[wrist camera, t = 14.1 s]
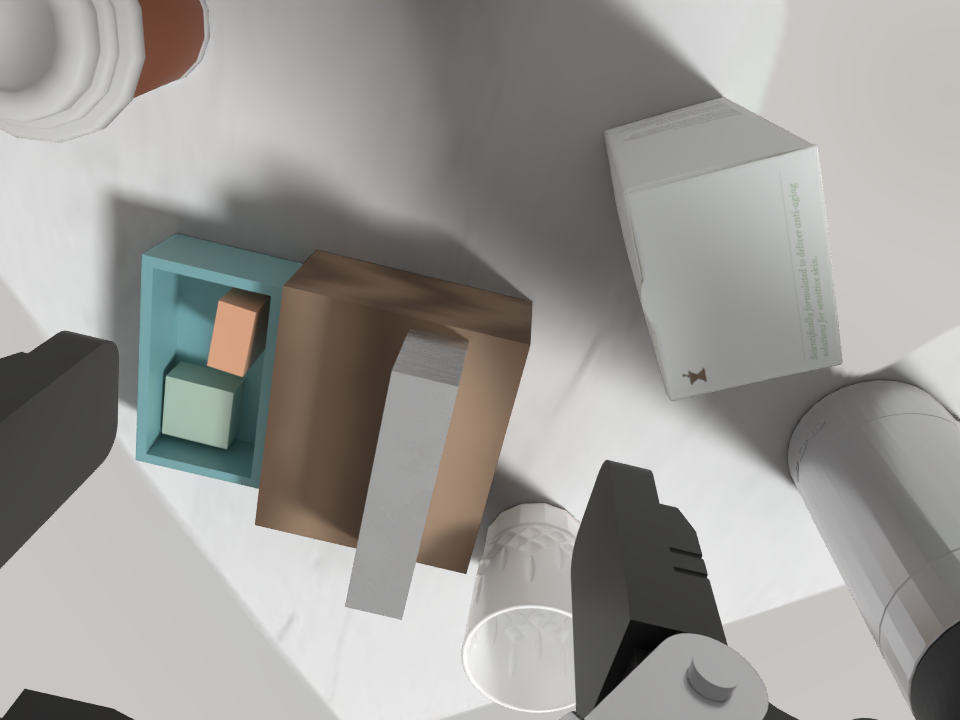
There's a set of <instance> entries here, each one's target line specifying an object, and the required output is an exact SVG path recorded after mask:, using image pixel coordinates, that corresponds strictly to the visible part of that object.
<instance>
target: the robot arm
mask: <svg viewBox="0 0 960 720" xmlns="http://www.w3.org/2000/svg"><path fill="white" fill-rule="evenodd" d="M118 370H119V354H118V349H117V346H116V345H115V343H113V342H111V341H108V340H104V339H99V338H95V337H91V336H87V335H82V334H78V333H74V332H70V331H61V332H59V333H57V334H56V335H54V336H53V337H51V338H50V339H48V340H47V341H46V342H44V343H43V344H41V345H40V346H38V347H37V348H35V349H34V350H33V351H31V352H29V353H24V352H20V353H16V354H13V355H10V356H7V357H4V358H1V359H0V568H1V567H2V566H3V565H4V564H5V563H6V562H7V561H8V560H9V559H10V558H11V557H12V556H13V555H14V554H15V553H16V552H17V551H18V550H19V549H20V548H21V547H22V546H23V545H24V544H25V542H26V541H27V540H28V539H29V538H30V537H31V536H32V535H33V534H34V533H35V532H36V531H37V530H38V529H39V528H40V527H41V526H42V525H43V524H44V523H45V522H46V521H47V520H48V519H49V518H50V517H51V516H52V515H53V514H54V512H55V511H56V510H57V509H58V508H59V507H60V506H61V505H62V504H63V503H64V502H65V501H66V500H67V499H68V498H69V497H70V496H71V495H72V494H73V493H74V492H75V491H76V490H77V489H78V488H79V487H80V486H81V485H82V484H83V482H84V481H85V480H86V479H87V478H88V477H89V476H90V475H91V474H92V473H93V472H94V471H95V470H96V469H97V468H98V467H99V466H100V465H101V464H102V463H103V461H104V460H105V459H106V457H107V456H108V454H109V452H110V450H111V448H112V446H113V443H114V440H115V437H116V432H117V424H118ZM787 460H788V465H789V471H790V474H791V476H792V478H793V480H794V483H795V485H796V487H797V489H798V491H799V493H800V495H801V496H802V498H803V500H804V502H805V504H806V506H807V508H808V510H809V512H810V514H811V517H812V519H813V521H814V523H815V525H816V527H817V529H818V531H819V533H820V535H821V536H822V538H823V540H824V542H825V544H826V546H827V548H828V550H829V552H830V554H831V556H832V558H833V560H834V562H835V564H836V566H837V568H838V570H839V572H840V574H841V576H842V577H843V579H844V581H845V583H846V585H847V587H848V589H849V591H850V593H851V595H852V597H853V599H854V601H855V603H856V605H857V607H858V609H859V611H860V613H861V614H862V617H863V618H864V620H865V622H866V624H867V626H868V628H869V630H870V632H871V634H872V636H873V638H874V640H875V642H876V644H877V646H878V647H879V650H880V652H881V653H882V656H883V658H884V659H885V661H886V663H887V665H888V667H889V669H890V670H891V673H892V675H893V677H894V678H895V680H896V682H897V684H898V686H899V688H900V690H901V692H902V694H903V696H904V698H905V700H906V702H907V704H908V706H909V707H910V710H911V712H912V714H913V715H914V717H915V719H916V720H960V421H956V420H955V418H954V417H953V416H952V415H951V414H950V413H949V412H948V411H947V410H946V409H945V408H944V407H943V406H942V405H941V404H940V403H939V402H938V401H937V400H935V399H934V398H933V397H932V396H931V395H930V394H928V393H927V392H925V391H923V390H921V389H919V388H917V387H915V386H913V385H910V384H906V383H902V382H898V381H887V380H875V381H867V382H860V383H857V384H853V385H850V386H847V387H844V388H841V389H839V390H837V391H835V392H833V393H831V394H829V395H827V396H826V397H825V398H823V399H822V400H820V401H819V402H818V403H816V404H815V405H814V406H813V407H812V408H811V409H810V410H809V411H808V412H807V413H806V414H805V415H804V416H803V417H802V418H801V420H800V422H799V423H798V425H797V426H796V428H795V430H794V431H793V434H792V437H791V440H790V443H789V447H788V458H787ZM707 575H708V574H707V570H706V566H705V563H704V560H703V559H702V552H701V549H700V545H699V541H698V538H697V534H696V531H695V530H694V529H693V527H692V526H691V525H690V523H689V522H688V521H687V520H686V518H685V517H684V516H683V514H682V513H681V512H680V511H679V509H678V508H676V507H672V506H667V505H663V504H659V499H658V495H657V490H656V486H655V481H654V477H653V473H652V471H651V470H648V469H643V468H639V467H635V466H631V465H626V464H622V463H618V462H614V461H610V460H606V461H605V462H604V463H603V464H602V466H601V469H600V471H599V474H598V476H597V479H596V482H595V485H594V488H593V491H592V493H591V496H590V499H589V502H588V505H587V508H586V510H585V513H584V516H583V519H582V522H581V525H580V527H579V530H578V533H577V536H576V540H575V544H574V548H573V554H572V560H571V596H572V621H573V646H574V671H575V696H576V712H575V711H572V712H570V713H568V714H566V715H565V716H563V717H562V718H561V719H560V720H798V719H796V718H794V717H792V716H790V715H789V714H787V713H785V712H783V711H781V710H779V709H777V708H776V707H775V706H773V705H772V704H770V703H769V702H768V694H767V691H766V688H765V685H764V683H763V681H762V679H761V678H760V676H759V674H758V673H757V672H756V670H755V669H754V668H753V667H752V666H751V664H750V663H749V662H748V661H747V660H746V659H745V658H744V657H742V656H741V655H740V654H739V653H737V652H736V651H735V650H733V649H731V648H730V647H728V645H727V642H726V638H725V635H724V631H723V627H722V624H721V620H720V617H719V613H718V609H717V606H716V602H715V599H714V595H713V592H712V588H711V584H710V581H709V579H707ZM0 720H134V719H132V718H130V717H128V716H126V715H124V714H122V713H120V712H118V711H117V710H115V709H112V708H108V707H103V706H99V705H95V704H90V703H85V702H81V701H77V700H72V699H68V698H63V697H59V696H55V695H50V694H46V693H41V692H37V691H33V690H28V689H24V691H23V692H22V693H21V694H20V696H19V697H18V698H17V700H16V701H15V702H14V704H13V705H12V706H11V707H10V709H9V710H8V711H7V713H6V714H5V715H4V717H3V718H0ZM853 720H876V719H871V718H859V719H853Z"/></svg>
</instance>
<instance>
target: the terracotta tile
mask: <svg viewBox="0 0 960 720" xmlns="http://www.w3.org/2000/svg"><path fill="white" fill-rule="evenodd" d="M270 302H271V296H269V295H265V294H260V293H256V292H252V291H248V290H244V289H240V288H235V287H233V288H232V289H231V290H230V291H229V292H228V293H227V294H225V295H224V296H223V297H222V298H221V299H220V300H219V302H218V308H217V313H216V319H215V324H214V330H213V335H212V341H211V346H210V352H209V357H208V363H207V366H210V367H213V368H216V369H219V370H222V371H225V372H228V373H231V374H235V375H238V376H241V377H243V376H244V375H245V373H246V372H247V371H248V370H249V369H250V367H251V366H252V365H253V364H254V362H255V361H256V360H257V359H258V357H259V356H260V355H261V354H262V353H263V351H264V350H265V347H266V338H267V329H268V320H269V311H270Z"/></svg>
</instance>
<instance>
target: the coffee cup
mask: <svg viewBox="0 0 960 720" xmlns="http://www.w3.org/2000/svg"><path fill="white" fill-rule="evenodd" d="M209 38H210V31H209V10H208V7H207V5H206V2H205V0H0V129H1V130H3V131H5V132H7V133H9V134H11V135H13V136H15V137H17V138H24V139H32V140H41V141H49V142H57V143H61V142H65V141H68V140H71V139H74V138H77V137H80V136H83V135H86V134H89V133H92V132H95V131H98V130H101V129H104V128H106V127H107V126H108V125H109V124H110V123H111V122H112V121H113V120H114V119H115V118H116V117H117V115H118V114H119V113H120V112H121V111H122V110H123V109H124V108H125V107H126V106H127V105H128V104H129V103H130V102H131V101H132V100H133V98H135V97H137V96H139V95H142V94H144V93H146V92H149V91H151V90H153V89H156V88H158V87H160V86H163V85H165V84H167V83H170V82H172V81H175V80H178V79H181V78H184V77H186V76H187V75H188V74H189V73H190V72H191V71H192V70H193V69H194V68H195V67H196V66H197V65H198V64H199V63H200V62H201V61H202V58H203V55H204V52H205V49H206V47H207V44H208V41H209Z"/></svg>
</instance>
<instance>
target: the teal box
mask: <svg viewBox="0 0 960 720" xmlns="http://www.w3.org/2000/svg"><path fill="white" fill-rule="evenodd" d="M302 265H303V264H302V263H298V262H294V261H290V260H285V259H281V258H277V257H273V256H269V255H265V254H260V253H256V252H252V251H248V250H244V249H240V248H236V247H231V246H227V245H223V244H219V243H215V242H211V241H206V240H202V239H198V238H194V237H190V236H186V235H181V234H177V233H175V234H174V235H172V236H171V237H169V238H167V239H166V240H164V241H162V242H161V243H159V244H158V245H156V246H154V247H153V248H151V249H150V250H148V251H146V252H145V253H143V254H142V267H141V300H140V334H139V367H138V400H137V433H136V460H138V461H142V462H147V463H151V464H155V465H159V466H164V467H168V468H172V469H177V470H181V471H185V472H189V473H194V474H198V475H202V476H207V477H211V478H215V479H219V480H224V481H228V482H232V483H237V484H241V485H245V486H249V487H254V488H258V489H259V486H260V477H261V469H262V460H263V452H264V443H265V435H266V426H267V418H268V409H269V401H270V392H271V384H272V375H273V367H274V358H275V350H276V341H277V333H278V324H279V316H280V307H281V299H282V290H283V285H284V284H285V283H286V282H287V281H288V280H289V279H290V278H291V277H292V276H293V275H294V273H295V272H296V271H297V270H298V269H299V268H300V267H301V266H302ZM233 287H235V288H240V289H244V290H248V291H252V292H256V293H260V294H265V295H269V296H271V302H270V311H269V320H268V329H267V338H266V347H265V350H264V351H263V353H262V354H261V355H260V356H259V357H258V359H257V360H256V361H255V362H254V364H253V365H252V366H251V367H250V369H249V370H248V371H247V372H246V373H245V375H244V376H243V377H245V378H246V380H245V388H244V396H243V404H242V412H241V421H240V429H239V433H238V435H237V436H236V437H235V439H234V440H233V442H232V443H231V444H230V446H229V447H228V449H223V448H219V447H215V446H211V445H207V444H203V443H199V442H195V441H191V440H187V439H183V438H179V437H175V436H171V435H167V434H163V433H162V426H163V411H164V397H165V383H166V375H167V374H168V373H169V372H170V371H171V370H172V369H174V368H175V367H176V366H177V365H178V364H179V363H180V362H181V361H182V362H186V363H190V364H194V365H198V366H202V367H206V368H210V369H214V370H217V371H221V372H225V371H222V370H219V369H216V368H213V367H210V366H207V363H208V357H209V352H210V346H211V341H212V335H213V330H214V324H215V319H216V313H217V308H218V302H219V300H220V299H221V298H222V297H223V296H224V295H225V294H227V293H228V292H229V291H230V290H231V289H232V288H233ZM225 373H228V372H225ZM229 374H231V373H229ZM233 375H235V374H233ZM237 376H238V375H237Z"/></svg>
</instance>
